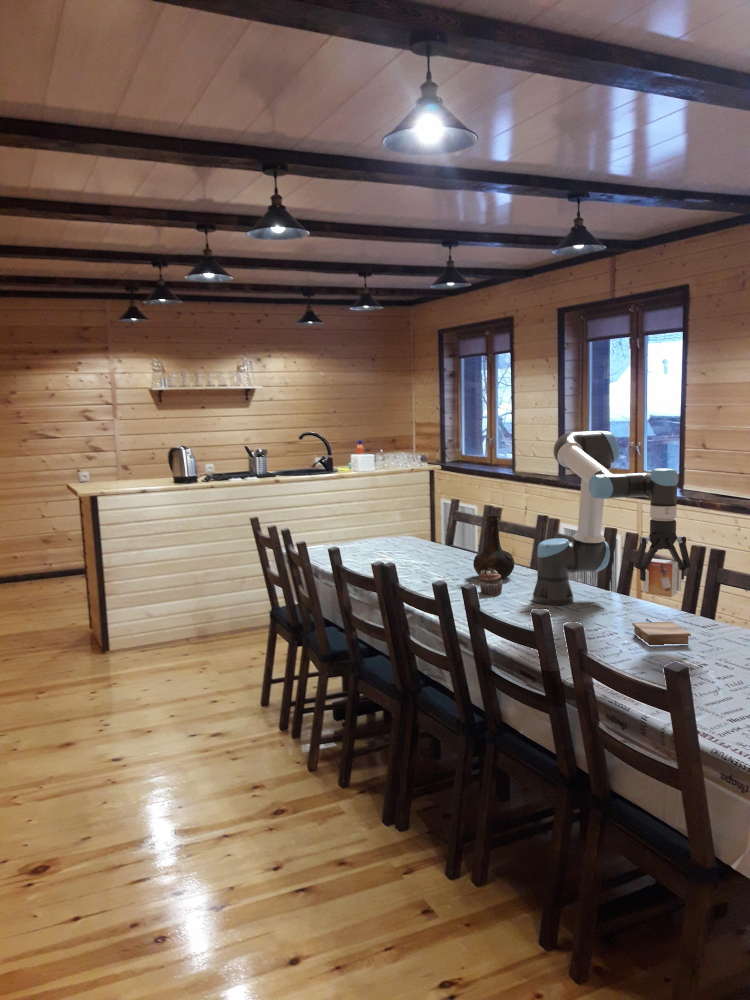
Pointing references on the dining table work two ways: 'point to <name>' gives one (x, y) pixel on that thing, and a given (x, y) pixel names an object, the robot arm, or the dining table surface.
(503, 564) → the glass bottle
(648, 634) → the stand
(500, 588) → the cupcake
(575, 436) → the robot arm
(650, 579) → the small box
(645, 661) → the dining table surface
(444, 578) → the dining table surface
